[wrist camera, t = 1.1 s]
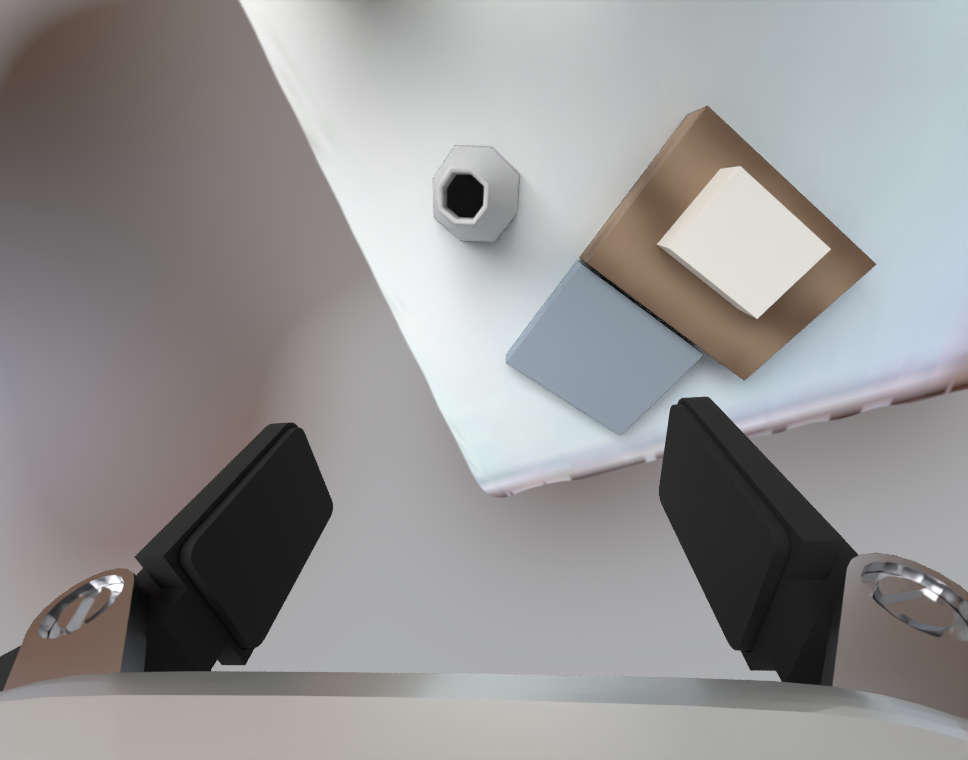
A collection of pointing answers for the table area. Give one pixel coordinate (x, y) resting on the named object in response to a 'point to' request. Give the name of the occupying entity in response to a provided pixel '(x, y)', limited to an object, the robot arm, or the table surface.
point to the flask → (475, 193)
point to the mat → (600, 351)
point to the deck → (682, 295)
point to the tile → (743, 242)
